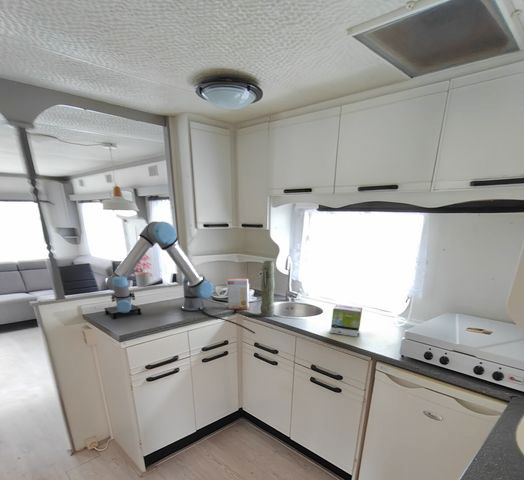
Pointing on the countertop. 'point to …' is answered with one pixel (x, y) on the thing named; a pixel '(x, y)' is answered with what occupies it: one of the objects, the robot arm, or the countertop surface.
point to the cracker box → (238, 294)
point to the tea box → (346, 320)
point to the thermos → (267, 289)
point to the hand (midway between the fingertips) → (122, 293)
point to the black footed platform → (115, 311)
